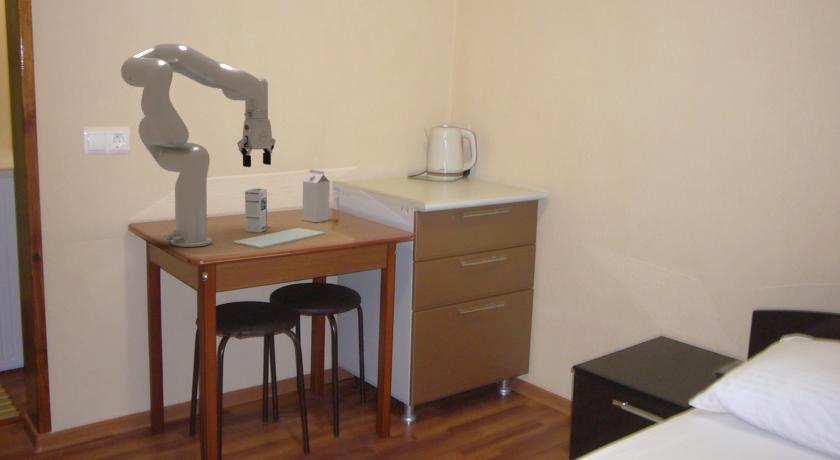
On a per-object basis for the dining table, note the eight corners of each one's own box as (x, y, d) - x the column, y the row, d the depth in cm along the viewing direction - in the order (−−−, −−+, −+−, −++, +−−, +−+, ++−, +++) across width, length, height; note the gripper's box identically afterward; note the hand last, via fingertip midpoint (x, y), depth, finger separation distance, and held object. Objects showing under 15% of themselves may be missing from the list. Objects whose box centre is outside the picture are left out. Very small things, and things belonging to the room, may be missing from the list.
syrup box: (260, 232, 266) (260, 191, 263) (244, 231, 267) (244, 189, 264) (267, 230, 271) (267, 189, 269) (251, 228, 273) (251, 187, 270)
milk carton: (315, 218, 298) (316, 169, 295) (329, 220, 294) (330, 171, 291) (302, 220, 293) (303, 170, 289) (316, 222, 288) (316, 172, 285)
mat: (260, 248, 242) (260, 246, 242) (232, 243, 248) (232, 241, 248) (325, 234, 269) (325, 232, 268) (298, 229, 275) (298, 227, 275)
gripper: (246, 116, 253) (247, 168, 256) (282, 115, 267) (282, 164, 271) (229, 115, 257) (230, 166, 260) (266, 113, 271) (266, 162, 274)
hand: (257, 165), depth 265 cm, fingers open, 9 cm apart
